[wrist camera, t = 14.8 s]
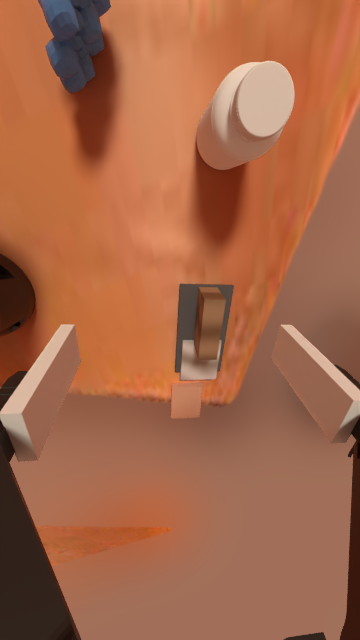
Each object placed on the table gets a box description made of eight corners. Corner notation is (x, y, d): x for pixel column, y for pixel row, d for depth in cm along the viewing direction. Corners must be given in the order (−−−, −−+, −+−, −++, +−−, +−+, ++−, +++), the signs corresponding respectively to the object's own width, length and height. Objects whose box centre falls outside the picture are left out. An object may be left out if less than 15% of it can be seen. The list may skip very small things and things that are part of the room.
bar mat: (174, 370, 53) (175, 372, 53) (179, 283, 44) (180, 285, 43) (219, 369, 54) (219, 371, 54) (232, 284, 45) (233, 286, 45)
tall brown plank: (186, 286, 44) (190, 299, 38) (229, 287, 45) (239, 300, 39) (180, 378, 54) (182, 398, 48) (215, 377, 54) (221, 397, 49)
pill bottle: (247, 94, 32) (312, 26, 19) (251, 163, 36) (308, 146, 23) (190, 108, 33) (215, 51, 19) (200, 176, 36) (227, 166, 23)
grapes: (70, -49, 26) (12, -220, 15) (130, 0, 28) (115, -120, 17) (42, 79, 30) (-19, 17, 19) (95, 114, 32) (66, 74, 21)
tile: (171, 382, 55) (170, 413, 60) (171, 387, 54) (170, 418, 58) (201, 381, 56) (198, 411, 61) (202, 386, 54) (199, 417, 59)
